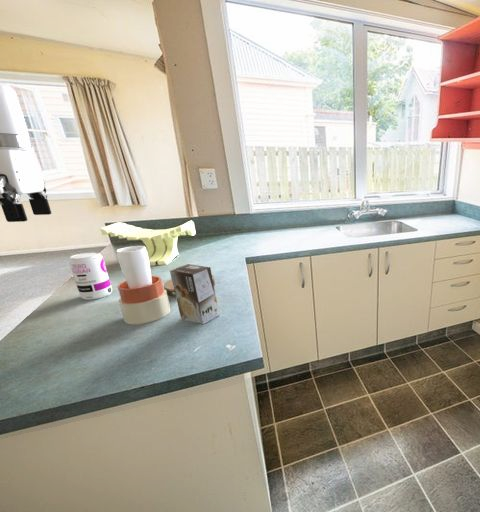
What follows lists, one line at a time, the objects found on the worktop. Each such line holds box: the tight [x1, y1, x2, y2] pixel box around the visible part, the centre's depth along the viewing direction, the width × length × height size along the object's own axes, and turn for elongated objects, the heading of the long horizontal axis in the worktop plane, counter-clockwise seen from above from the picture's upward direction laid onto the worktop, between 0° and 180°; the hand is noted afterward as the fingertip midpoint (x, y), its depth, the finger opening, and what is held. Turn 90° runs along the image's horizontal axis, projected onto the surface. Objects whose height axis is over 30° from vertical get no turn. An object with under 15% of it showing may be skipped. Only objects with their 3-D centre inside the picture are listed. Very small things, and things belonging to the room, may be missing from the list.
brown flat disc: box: [163, 274, 216, 298], centre depth 111 cm, size 16×16×3 cm
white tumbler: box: [115, 245, 152, 289], centre depth 88 cm, size 7×7×15 cm
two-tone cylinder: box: [118, 288, 172, 325], centre depth 91 cm, size 12×12×6 cm
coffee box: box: [169, 263, 220, 325], centre depth 89 cm, size 9×6×16 cm
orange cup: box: [117, 275, 164, 304], centre depth 90 cm, size 10×10×11 cm
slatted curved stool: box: [100, 220, 197, 266], centre depth 138 cm, size 30×16×18 cm, turn 104°
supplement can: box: [68, 251, 113, 301], centre depth 102 cm, size 8×8×15 cm
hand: (31, 217), depth 72 cm, fingers open, 9 cm apart
